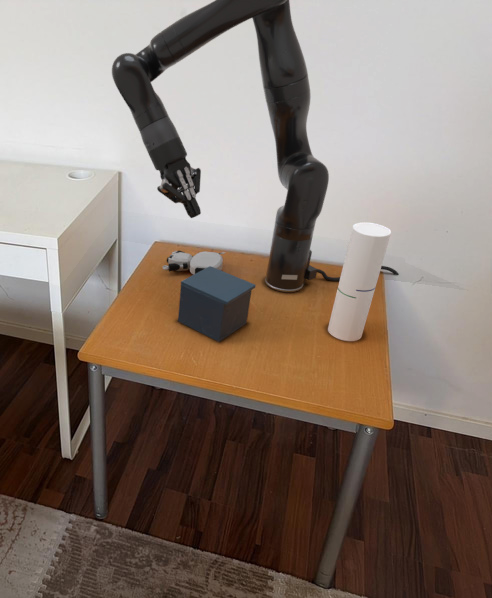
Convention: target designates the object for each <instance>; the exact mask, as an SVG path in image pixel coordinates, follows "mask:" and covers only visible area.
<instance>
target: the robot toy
mask: <svg viewBox="0 0 492 598" xmlns="http://www.w3.org/2000/svg"><path fill="white" fill-rule="evenodd" d="M225 254H226V252H225V251H222V252H215V251H200V252H197V253H196V254H194V255H192V254H191V253H188V252H185V251H182V250H174V251H172V252H171V254H169V256H167V258H166V263H167V264H168V265H165V264H164V265H162V270H163V271H169V272H181V271H189V272H190V273H191V275H194V274H196V273H198V272H200V271H202V270H203V269H205V268H207V267H209V266H211V267H214V268H216V269H219V270H221V271H223V261H224V260H223V259H224V257H223V256H222V255H225Z"/></svg>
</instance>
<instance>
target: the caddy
mask: <svg viewBox="0 0 492 598" xmlns="http://www.w3.org/2000/svg"><path fill="white" fill-rule="evenodd" d="M179 291H180V293H179V303H178V316H177V322H178V323H180V324H182V325H184V326H186V327H188V328H190V329H192V330H194V331H195V332H198V333H200V334H202V335H204V336H205V337H208V338H209V339H212V340H214V341H216V342H218V343H220V342H222V341H223V340H224V339H227V337H229V336H230V335H232V334H234V332H237V331H238V330H240V329H241V328H242V327H244V326H245V325H247V324H248V323H247V322H248V317H249V311H250V303H251V297H252V292H253V291H252V290H251V291H249V292H248V293H246V294H244V295H243V296H241V297H240V298H238V299H236V300H235V301H233V302H231V303H230V304H228V305H226V304H223V303H221V302H219V301H217V300H215V299H212V298H210V297H208V296H206V295H204V294H201V293H199V292H197V291H195V290H193V289H190V288H188V287H186V286H184V285H182V284H181V283H180V289H179Z"/></svg>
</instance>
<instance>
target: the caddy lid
mask: <svg viewBox="0 0 492 598" xmlns="http://www.w3.org/2000/svg"><path fill="white" fill-rule="evenodd" d="M181 284H182V285H184V286H186V287H188V288H190V289H193V290H195V291H197V292H199V293H201V294H204V295H206V296H208V297H210V298H212V299H215V300H217V301H219V302H221V303H223V304H226V305H228V304H230V303H231V302H233V301H235V300H236V299H238V298H240V297H241V296H243V295H244V294H246V293H248V292H249V291H251V290H254V289H256V286H257V284H255V283H252V282H250V281H247V280H245V279H243V278H241V277H238V276H235V275H233V274H230V273H228V272H226V271H223V270H219V269H216V268H214V267H211V266H209V267H207V268H205V269H203V270H202V271H200V272H198V273H196V274H194V275H193V274H191V276H188V277H187V278H185V279H183V280H181V281H180V285H181ZM251 292H252V291H251Z"/></svg>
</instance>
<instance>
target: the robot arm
mask: <svg viewBox="0 0 492 598" xmlns="http://www.w3.org/2000/svg"><path fill="white" fill-rule="evenodd" d="M290 4H291V2H290V0H214V1H212V2H210V3H208V4H206V5H204V6H201V7H200V8H198V9H195V10H194V11H192V12H190V13H188V14H186V15H185V16H183V17H181V18H180V19H177V20H175V21H174V22H173V23H172V24H170V25H169V26H167V27H166V28H164V29H163V30H161V31H159V32H158V33H157V34H156V35H154V36H153V37H152V38H151V40H150V41H149V43H148V45H147V46H145V47H144V48H143V49H141V50H139V51H138V52H136V53H131V52H125V53H121V54H120V55H118V56H116V58H115V59H114V61H113V62H112V66H111V77H112V80H113V82H114V84H115V85H114V86H115V87H116V89H117V91H118V92H119V93H120V97H122V99H123V101H124V103H125V104H126V106H127V107H128V108H129V110H130V112H131V115H132V118H133V120H134V123H135V125H136V127H137V130H138V132H139V134H140V137H141V140H142V143H143V146H144V147H145V149H146V152H147V154H148V156H149V158H150V160H151V163H152V164H153V167H154V170H155V171H159V174H160V176H159V177H160V179H161V184H160V185H159V186H157V188H156V189H157V191H158V192H159V193H160V194H161V195H163V196H164V197H166V198H167V199H168V200H170V201H171V202H172V203H173V204H174V203H175V204H182V205H183V207H184V210H185V212H186V214H187V215H188V217H189V218H190V219H193V218H196V217H198V216H200V215H201V213H202V211H201V208H200V206H199V203H198V201H197V199H196V198H197V194H199V193H200V191H201V176H202V175H201V174H202V170H201V168H200V167H197V168H194V167H192V166H191V163H190V162H189V161H188V160H187V158H186V157H187V156H188V151H187V150H186V148H185V145H184V143H183V142H182V139H181V137H180V134H179V132H178V130H177V128H176V126H175V124H174V122H173V121H172V119H171V117H170V116H169V114H168V112H167V109H166V107H165V105H164V102H163V101H162V99H161V97H160V96H159V94H158V93H157V92H156V91H155V89H154V87H153V85H152V83H153V81H155V80H156V79H157V78H158V77H160V76H161V75H162V74H163V73H164V72H165V71H166V70H168V69H169V68H171V67H173V66H175V65H176V64H178V63H180V62H181V61H183V60H184V59H187V57H189V56H191V55H192V54H193V53H195V52H196V51H198V50H199V49H201V48H203V47H204V46H206V45H207V44H209V43H210V42H211V41H213V40H215V39H216V38H218V37H219V36H221V35H223V34H224V33H226V32H227V31H230V30H231V29H233V28H235V27H237V26H239V25H241V24H243V23H245V22H247V21H249V20H252V22H253V26H254V30H255V35H256V41H257V51H258V61H259V67H260V75H261V82H262V89H263V93H264V94H263V95H264V99H265V103H266V107H267V111H268V116H269V120H270V125H271V129H272V132H273V136H274V142H275V150H276V152H275V153H276V165H277V167H276V168H277V175H278V179H279V182H280V183H281V186H283V188H285V189H286V190H287V191H286V197H285V200H284V205H281V206H279V207H278V208H277V210H276V214H275V220H274V225H273V231H272V239H271V245H270V251H269V257H268V263H267V268H266V274H265V277H264V283H265V285H266V286H267V287H268V288H270V289H271V290H274V291H276V292H281V293H296V292H300V291H301V290H302V289H303V287H304V285H306V283H307V281H311V280H314V279H316V278H317V274H320V275H321V276H322V277H323V279H325V280H327V281H330V282H339V281H340V277H341V276H339V277H332V276H329V275H327V273H326V272H325V271H324V270H322V269H319V268H317V267H314V266H312V265H310V264H311V259H312V254H313V251H312V249H311V246H312V241H313V237H314V232H315V227H316V223H317V219H318V218H319V217H320V215H321V213H322V211H323V206H324V204H325V203H324V202H325V199H326V195H327V191H328V187H329V180H330V174H329V173H330V172H329V170H328V168H327V166H326V165H325V164H324V163H323V162H322V161H320V160H319V159H317V158H316V157H315V156H314V155H313V153H312V149H311V146H310V141H309V138H308V130H307V123H308V116H309V112H310V107H311V97H312V96H311V86H310V79H309V74H308V73H309V72H308V68H307V64H306V60H305V56H304V54H303V50H302V47H301V44H300V41H299V39H298V36H297V33H296V31H295V28H294V23H293V19H292V13H291V5H290ZM381 270H383V271H388V272H389V273H392V274H393V275H395V276H399V274H400V273H399V272H398V271H397V270H396V269H394V268H393V267H390V266H387V265H386V266H385V265H382V266H381Z"/></svg>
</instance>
